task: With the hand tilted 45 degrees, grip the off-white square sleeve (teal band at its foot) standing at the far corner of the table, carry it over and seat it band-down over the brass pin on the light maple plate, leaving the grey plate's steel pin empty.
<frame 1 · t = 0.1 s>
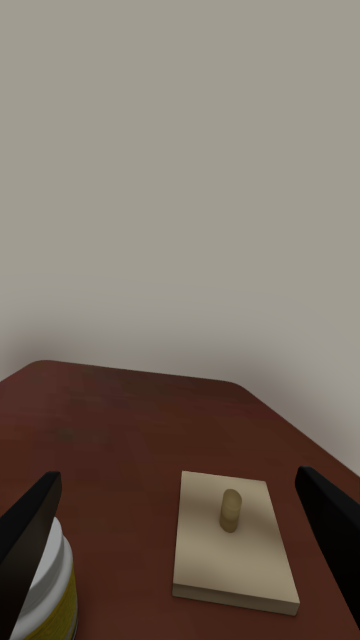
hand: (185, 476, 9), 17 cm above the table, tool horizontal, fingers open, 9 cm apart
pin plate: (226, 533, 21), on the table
supplement bottle: (38, 639, 15), on the table
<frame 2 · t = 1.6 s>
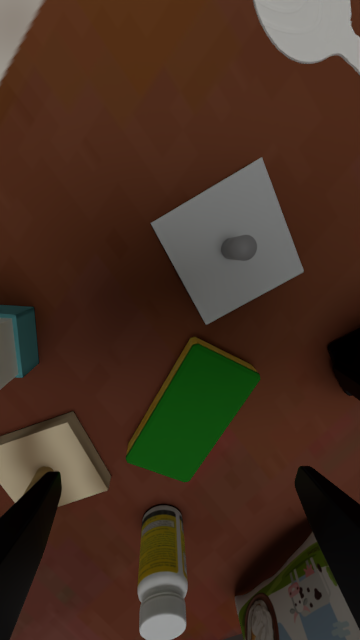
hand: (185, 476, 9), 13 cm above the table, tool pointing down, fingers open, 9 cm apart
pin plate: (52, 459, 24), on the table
pouch: (275, 553, 31), on the table
sleeve: (4, 334, 20), on the table
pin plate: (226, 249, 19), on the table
dish sponge: (188, 403, 24), on the table
spoon: (354, 63, 17), on the table
supplement bottle: (162, 516, 28), on the table
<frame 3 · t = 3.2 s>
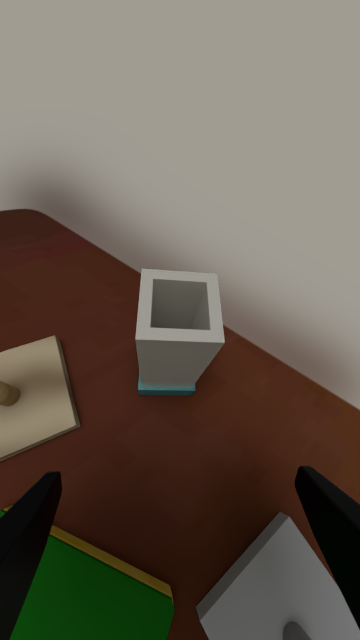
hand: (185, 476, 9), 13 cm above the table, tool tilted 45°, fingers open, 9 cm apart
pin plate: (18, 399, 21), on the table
sleeve: (165, 369, 24), on the table
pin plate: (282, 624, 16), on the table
dish sponge: (62, 604, 16), on the table
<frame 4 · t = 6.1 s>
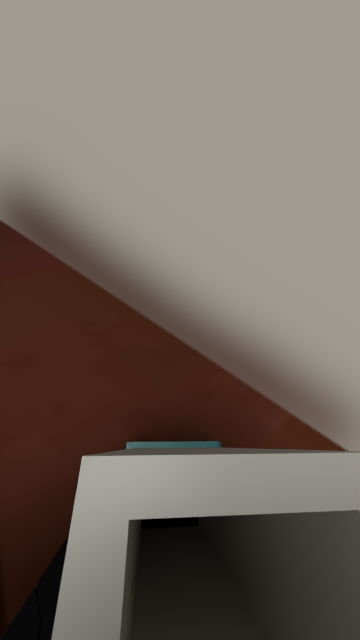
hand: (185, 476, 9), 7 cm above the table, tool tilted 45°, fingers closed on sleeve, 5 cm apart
sleeve: (170, 491, 14), on the table, touching gripper
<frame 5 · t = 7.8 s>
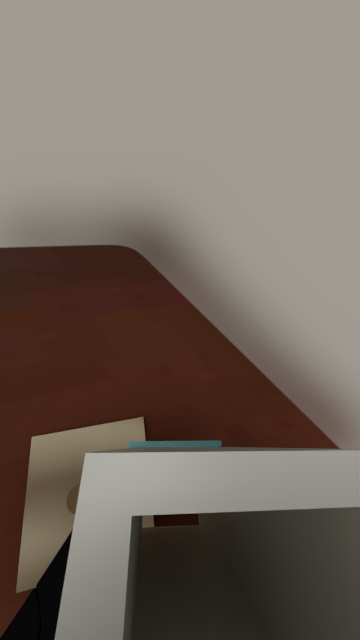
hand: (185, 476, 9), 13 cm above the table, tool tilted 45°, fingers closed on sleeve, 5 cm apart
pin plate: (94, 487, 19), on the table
sleeve: (171, 491, 14), point 7 cm above the table, touching gripper
when the fingers open (9 cm above the table, at t = 9.5 s): sleeve drops 1 cm, resting on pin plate.
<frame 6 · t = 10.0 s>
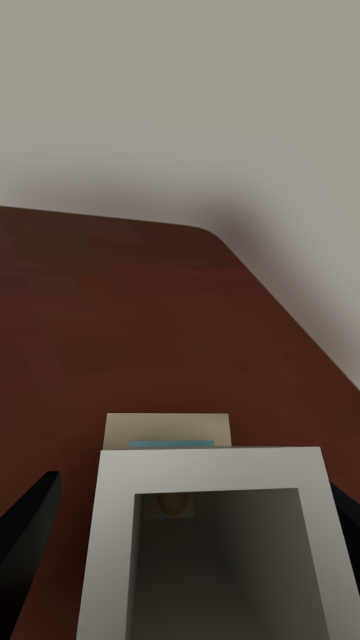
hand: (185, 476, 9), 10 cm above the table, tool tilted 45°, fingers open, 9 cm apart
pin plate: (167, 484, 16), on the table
sleeve: (168, 486, 15), point 1 cm above the table, touching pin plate
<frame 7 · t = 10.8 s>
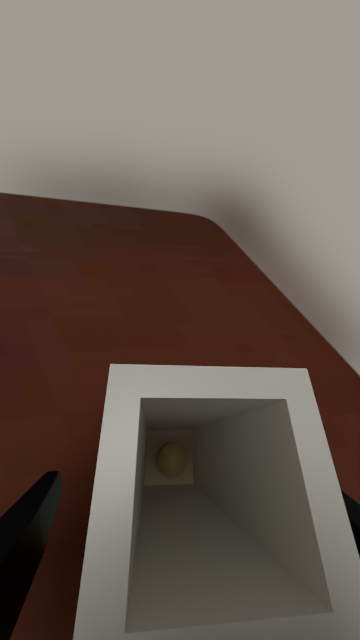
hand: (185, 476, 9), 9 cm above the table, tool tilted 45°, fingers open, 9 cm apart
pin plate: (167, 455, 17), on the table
sleeve: (169, 455, 16), point 1 cm above the table, touching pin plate
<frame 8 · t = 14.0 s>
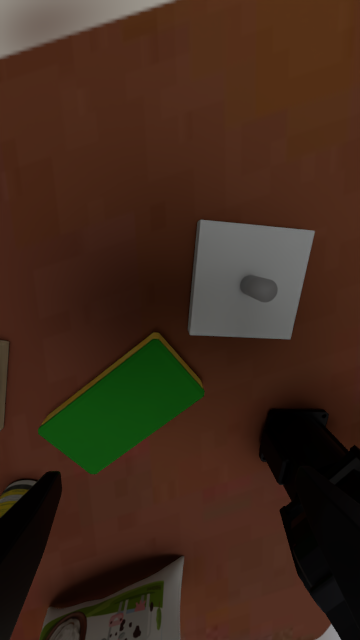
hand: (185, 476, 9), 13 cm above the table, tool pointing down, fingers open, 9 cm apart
pouch: (115, 577, 30), on the table
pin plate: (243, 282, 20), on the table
dish sponge: (125, 395, 23), on the table
supplement bottle: (29, 493, 25), on the table
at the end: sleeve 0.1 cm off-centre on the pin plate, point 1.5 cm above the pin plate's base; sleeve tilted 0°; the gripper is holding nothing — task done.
